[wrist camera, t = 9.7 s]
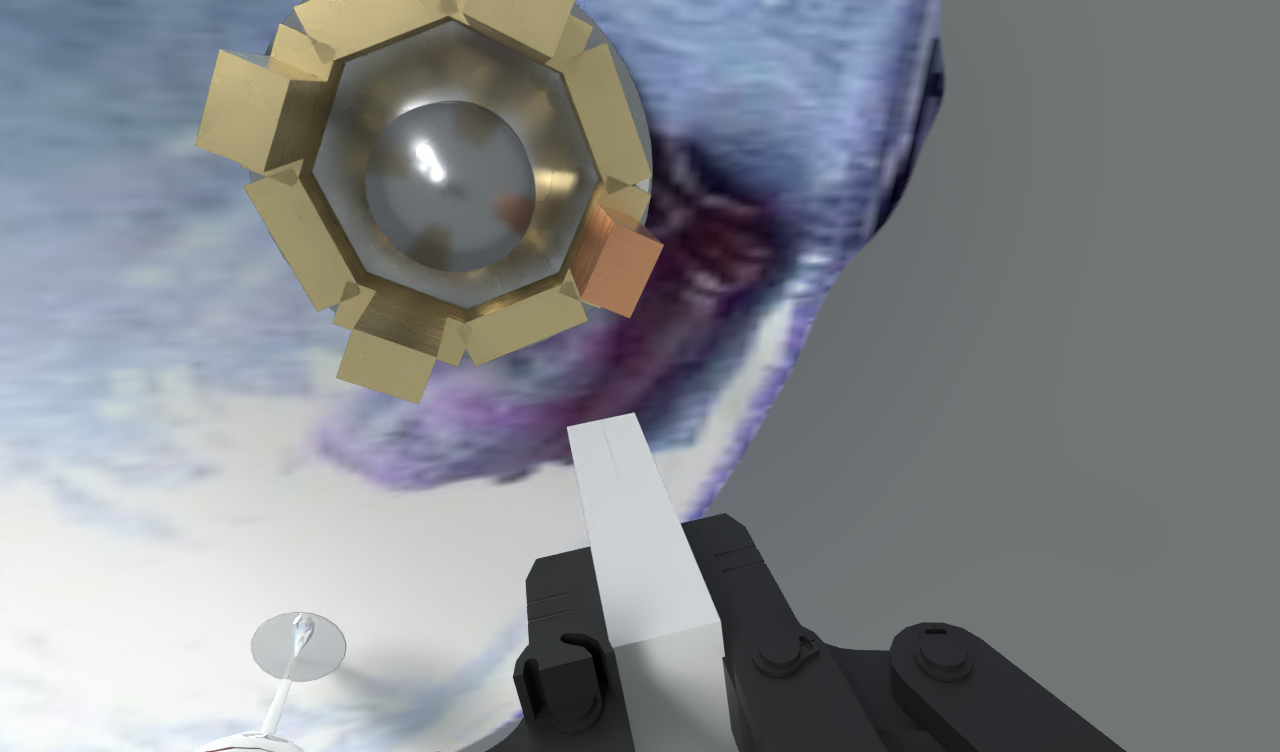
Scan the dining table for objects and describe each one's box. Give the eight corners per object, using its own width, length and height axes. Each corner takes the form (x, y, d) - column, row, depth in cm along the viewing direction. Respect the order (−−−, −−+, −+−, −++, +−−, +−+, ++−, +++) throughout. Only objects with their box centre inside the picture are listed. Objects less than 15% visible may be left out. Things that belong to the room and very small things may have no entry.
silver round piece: (194, -15, 28) (101, -46, 21) (617, -70, 29) (648, -115, 23) (330, 377, 34) (290, 443, 28) (667, 312, 36) (702, 359, 30)
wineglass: (386, 632, 40) (342, 834, 30) (319, 710, 42) (254, 930, 31) (276, 579, 38) (185, 778, 27) (208, 663, 39) (94, 885, 28)
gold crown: (228, 267, 30) (150, 318, 23) (333, -104, 26) (274, -169, 19) (555, 383, 35) (567, 452, 28) (688, 84, 30) (739, 83, 24)
